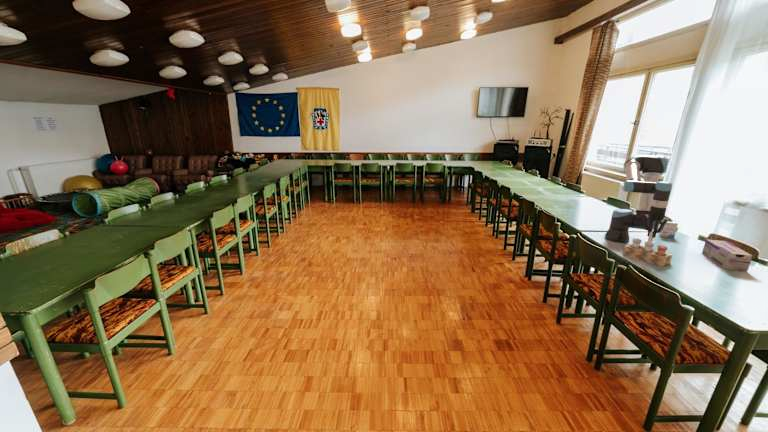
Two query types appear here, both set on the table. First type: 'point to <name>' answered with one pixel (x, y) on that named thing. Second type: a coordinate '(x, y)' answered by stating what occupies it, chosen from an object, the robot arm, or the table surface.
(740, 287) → the table surface
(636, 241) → the grey plunger near
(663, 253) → the terracotta plunger
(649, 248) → the grey plunger middle
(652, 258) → the press block
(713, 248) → the surgical sutures box
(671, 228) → the ink box
